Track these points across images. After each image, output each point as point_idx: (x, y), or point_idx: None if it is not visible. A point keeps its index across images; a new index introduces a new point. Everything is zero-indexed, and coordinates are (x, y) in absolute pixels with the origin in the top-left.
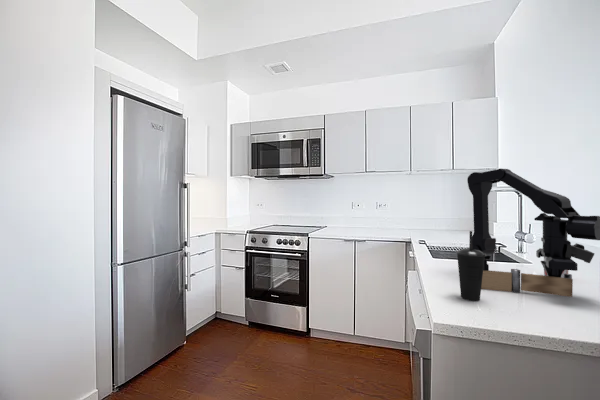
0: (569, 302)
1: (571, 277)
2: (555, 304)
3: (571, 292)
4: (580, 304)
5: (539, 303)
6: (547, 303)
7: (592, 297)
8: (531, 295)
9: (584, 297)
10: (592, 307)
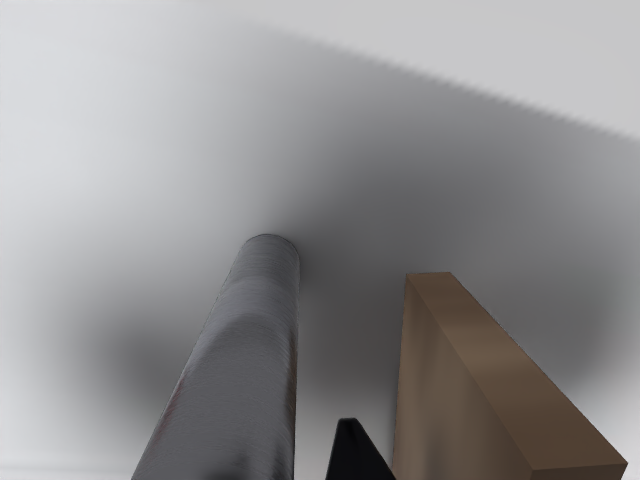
0: (533, 295)
1: (256, 408)
2: (620, 383)
3: (473, 305)
4: (565, 228)
5: (623, 452)
6: (610, 418)
7: (202, 27)
8: None
9: (267, 125)
10: (633, 154)
